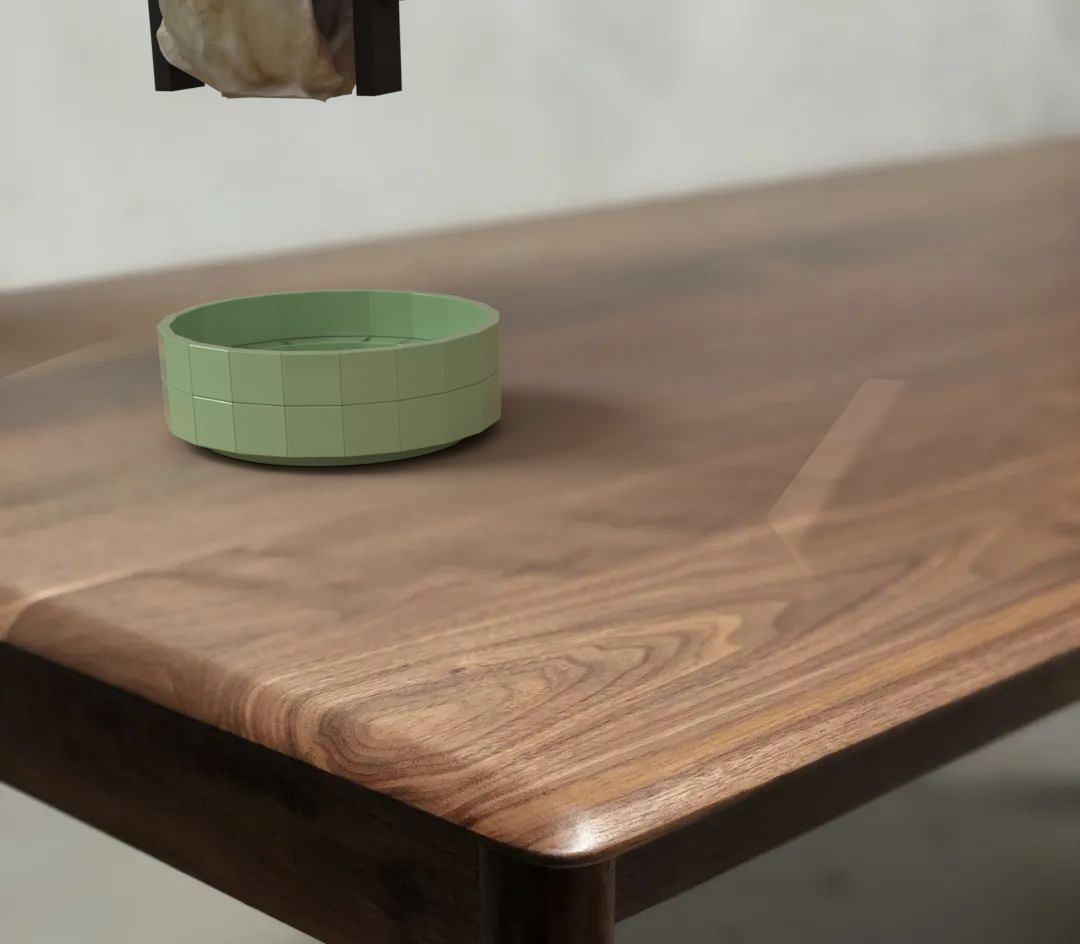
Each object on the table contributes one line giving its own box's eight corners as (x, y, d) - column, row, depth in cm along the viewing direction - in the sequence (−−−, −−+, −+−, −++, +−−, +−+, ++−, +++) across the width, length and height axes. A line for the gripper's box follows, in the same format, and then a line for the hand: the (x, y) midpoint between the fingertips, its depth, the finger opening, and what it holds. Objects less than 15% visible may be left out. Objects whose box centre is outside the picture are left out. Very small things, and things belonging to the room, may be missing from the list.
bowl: (105, 460, 86) (93, 342, 84) (259, 385, 100) (252, 282, 98) (430, 486, 81) (426, 362, 79) (544, 404, 95) (543, 296, 93)
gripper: (558, -605, 64) (559, 89, 73) (38, -555, 70) (97, 79, 79) (482, -665, 57) (493, 105, 66) (-84, -604, 63) (-4, 92, 72)
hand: (278, 90), depth 72 cm, fingers closed on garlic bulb, 8 cm apart
